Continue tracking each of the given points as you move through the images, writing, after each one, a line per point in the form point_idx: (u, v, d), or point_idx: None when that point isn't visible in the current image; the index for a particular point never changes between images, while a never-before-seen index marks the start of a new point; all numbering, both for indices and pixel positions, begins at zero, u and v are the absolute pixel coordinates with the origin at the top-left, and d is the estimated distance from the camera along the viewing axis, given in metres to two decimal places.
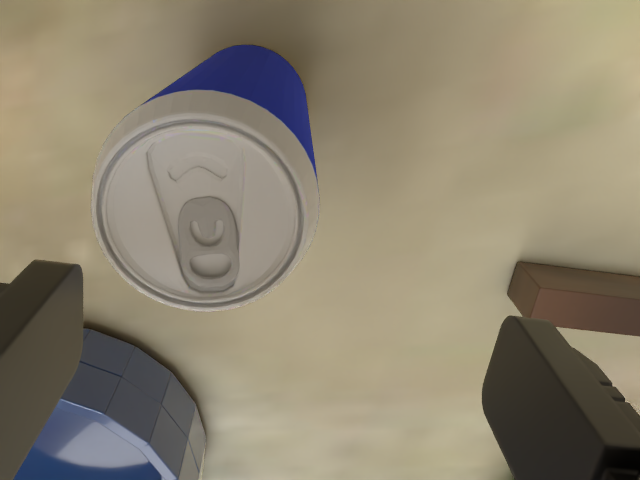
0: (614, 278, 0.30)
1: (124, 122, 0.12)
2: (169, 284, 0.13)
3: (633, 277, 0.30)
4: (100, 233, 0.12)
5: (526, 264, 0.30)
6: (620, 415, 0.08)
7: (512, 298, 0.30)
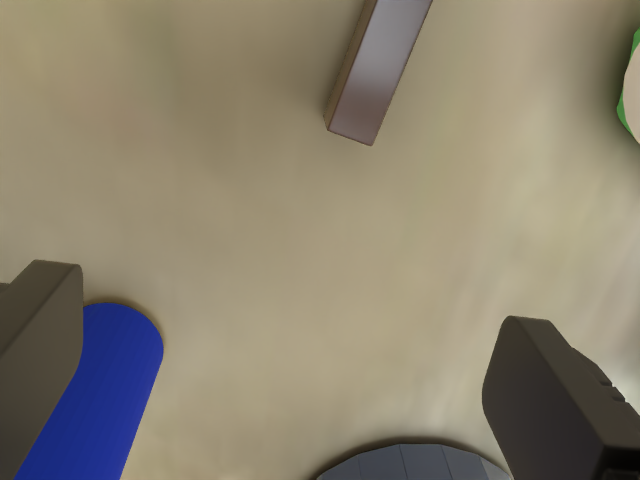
0: (366, 4, 0.24)
1: None
2: None
3: None
4: None
5: (326, 109, 0.25)
6: (620, 415, 0.08)
7: None
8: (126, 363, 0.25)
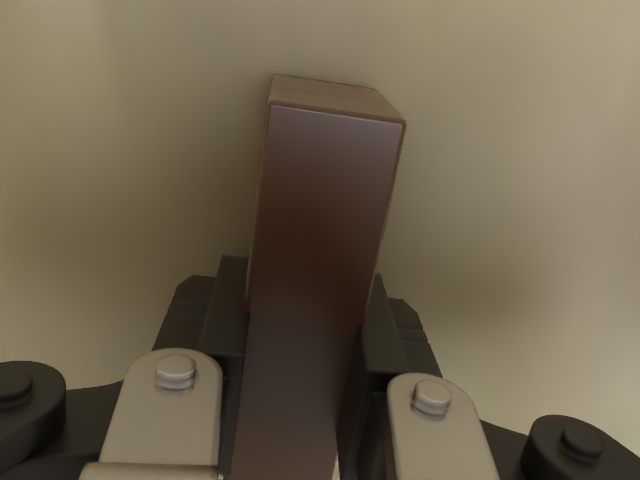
0: None
1: None
2: None
3: None
4: None
5: None
6: (398, 347, 0.09)
7: None
8: None
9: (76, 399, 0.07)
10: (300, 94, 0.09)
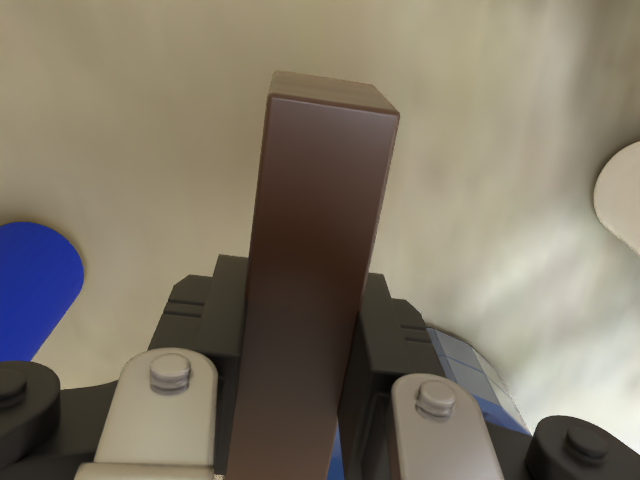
0: None
1: None
2: None
3: None
4: None
5: None
6: (402, 348, 0.09)
7: None
8: (22, 266, 0.25)
9: (71, 398, 0.07)
10: (299, 88, 0.09)
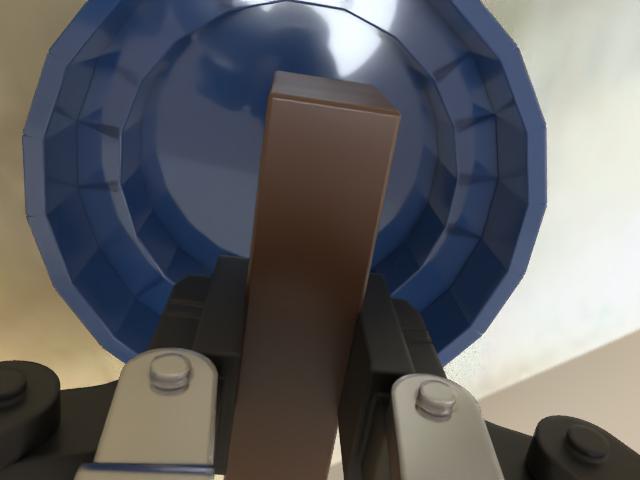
0: None
1: None
2: None
3: None
4: None
5: None
6: (402, 348, 0.09)
7: None
8: None
9: (71, 398, 0.07)
10: (300, 88, 0.09)
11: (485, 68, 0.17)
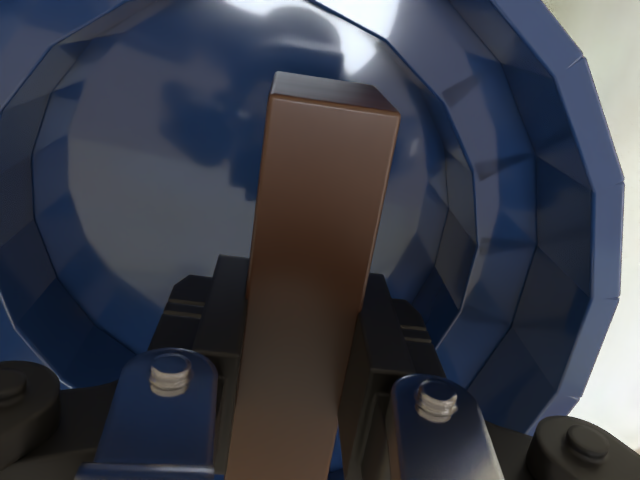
0: None
1: None
2: None
3: None
4: None
5: None
6: (402, 348, 0.09)
7: None
8: None
9: (71, 399, 0.07)
10: (300, 89, 0.09)
11: (524, 88, 0.11)
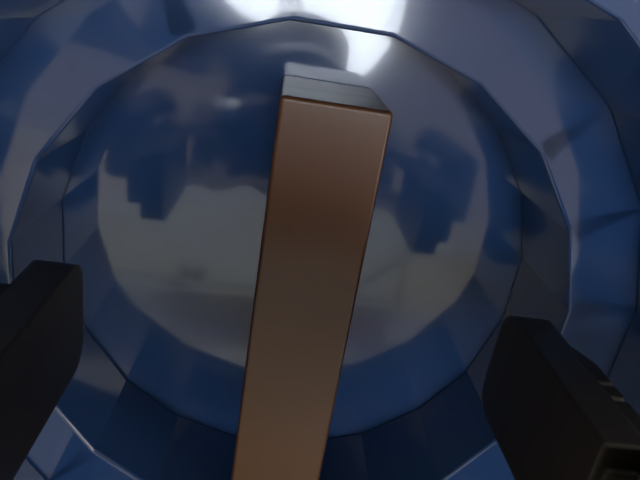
0: None
1: None
2: None
3: None
4: None
5: None
6: (620, 415, 0.08)
7: None
8: None
9: None
10: (306, 91, 0.11)
11: None
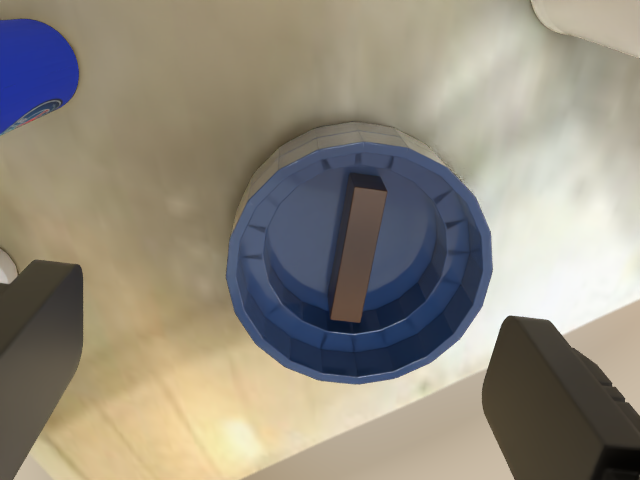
0: (339, 234, 0.37)
1: None
2: None
3: (342, 213, 0.37)
4: None
5: (328, 295, 0.39)
6: (620, 415, 0.08)
7: None
8: (24, 33, 0.29)
9: None
10: (360, 183, 0.34)
11: (460, 200, 0.33)
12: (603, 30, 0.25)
